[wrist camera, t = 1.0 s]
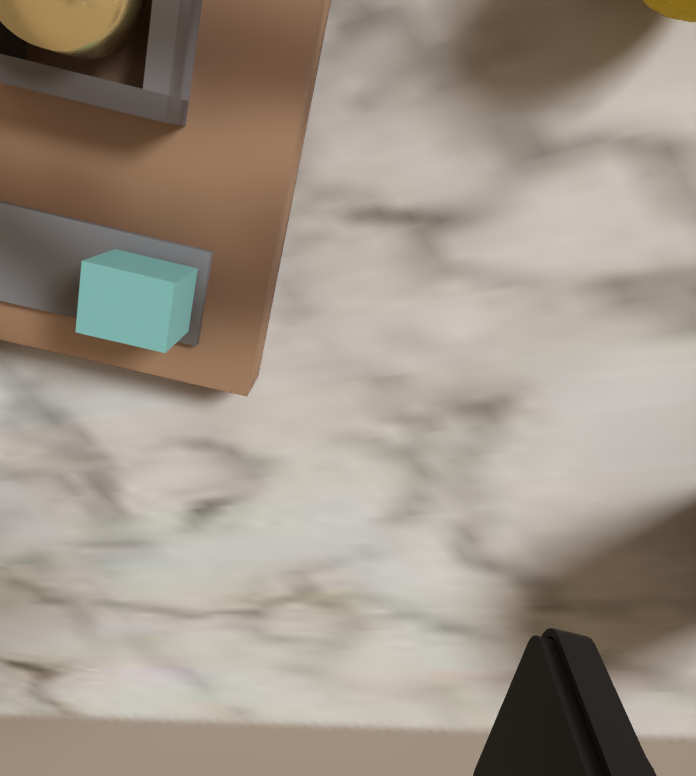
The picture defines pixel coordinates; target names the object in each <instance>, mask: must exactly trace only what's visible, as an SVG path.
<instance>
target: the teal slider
mask: <svg viewBox="0 0 696 776" xmlns="http://www.w3.org/2000/svg"><path fill="white" fill-rule="evenodd" d="M197 271H198V268H194V267H189V266H185V265H181V264H177V263H172V262H168V261H164V260H160V259H156V258H151V257H147V256H143V255H139V254H135V253H130V252H126V251H122V250H118V249H114V250H111V251H108V252H105V253H103V254H100V255H97V256H94V257H91V258H88V259H85V260H83V261H82V263H81V275H80V286H79V297H78V309H77V320H76V333H81V334H85V335H89V336H94V337H98V338H102V339H106V340H111V341H115V342H119V343H124V344H128V345H132V346H137V347H141V348H145V349H150V350H154V351H158V352H163V353H166V352H167V351H168V350H169V349H170V348H171V347H172V346H173V345H174V344H175V343H177V342H178V341H179V340H180V339H181V338H182V337H183V336H184V335H185V334H186V333H187V332H188V331H189V324H190V318H191V311H192V304H193V298H194V291H195V284H196V278H197Z"/></svg>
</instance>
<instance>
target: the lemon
mask: <svg viewBox="0 0 696 776" xmlns="http://www.w3.org/2000/svg"><path fill="white" fill-rule="evenodd" d="M642 1H643V2H644V3H645V4H646V5H647V6H648V7H649V8H651V9H653V10H655V11H657V12H658V13H660V14H662V15H664V16H666V17H669V18H673V19H678V20H683V21H688V22H696V0H642Z"/></svg>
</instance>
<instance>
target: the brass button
mask: <svg viewBox="0 0 696 776" xmlns="http://www.w3.org/2000/svg"><path fill="white" fill-rule="evenodd" d="M144 3H145V0H0V21H1V22H2V24H3V25H4V26H5V27H6V28H7V29H9V30H10V31H11V32H12V33H14V34H15V35H16V36H18V37H19V38H21V39H23V40H24V41H26V42H28V43H30V44H33V45H36V46H39V47H42V48H45V49H48V50H51V51H54V52H57V53H60V54H63V55H66V56H69V57H72V58H77V59H87V60H91V59H99V58H102V57H106V56H108V55H110V54H113V53H114V52H116V51H118V50H119V49H121V48H122V47H123V46H124V45H125V44H126V43H127V42H128V41H129V40H130V38H131V37H132V36H133V34H134V33H135V31H136V29H137V27H138V25H139V23H140V20H141V17H142V14H143V9H144Z"/></svg>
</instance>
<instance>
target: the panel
mask: <svg viewBox="0 0 696 776" xmlns="http://www.w3.org/2000/svg"><path fill="white" fill-rule="evenodd" d="M330 2H331V0H145V3H144V9H143V14H142V17H141V20H140V23H139V25H138V27H137V29H136V31H135V33H134V34H133V36H132V37H131V38H130V40H129V41H128V42H127V43H126V44H125V45H124V46H123V47H122V48H121V49H119V50H118V51H116V52H114V53H113V54H110V55H108V56H106V57H102V58H99V59H91V60H87V59H77V58H72V57H69V56H66V55H63V54H60V53H57V52H54V51H51V50H48V49H45V48H42V47H39V46H36V45H33V44H30V43H28V42H26V41H24V40H23V39H21V38H19V37H18V36H16V35H15V34H14V33H12V32H11V31H10V30H9V29H7V28H6V27H5V26H4V25H3V24H2V22H1V21H0V340H4V341H9V342H13V343H17V344H22V345H26V346H30V347H35V348H39V349H43V350H48V351H52V352H56V353H61V354H65V355H69V356H74V357H78V358H82V359H87V360H91V361H95V362H100V363H104V364H108V365H113V366H117V367H121V368H126V369H130V370H135V371H139V372H143V373H148V374H152V375H156V376H161V377H165V378H169V379H174V380H178V381H182V382H187V383H191V384H195V385H200V386H204V387H208V388H213V389H217V390H221V391H226V392H230V393H234V394H239V395H243V396H248V394H249V392H250V390H251V388H252V387H253V385H254V383H255V381H256V379H257V377H258V374H259V369H260V364H261V359H262V354H263V348H264V343H265V338H266V333H267V328H268V323H269V317H270V312H271V307H272V302H273V297H274V292H275V286H276V281H277V276H278V271H279V266H280V261H281V255H282V250H283V245H284V240H285V235H286V230H287V224H288V219H289V214H290V209H291V204H292V199H293V193H294V188H295V183H296V178H297V173H298V168H299V162H300V157H301V152H302V147H303V142H304V137H305V132H306V126H307V121H308V116H309V111H310V106H311V101H312V95H313V90H314V85H315V80H316V75H317V70H318V64H319V59H320V54H321V49H322V44H323V39H324V33H325V28H326V23H327V18H328V13H329V8H330ZM114 249H118V250H122V251H126V252H130V253H135V254H139V255H143V256H147V257H151V258H156V259H160V260H164V261H168V262H172V263H177V264H181V265H185V266H189V267H194V268H198V271H197V278H196V284H195V291H194V298H193V304H192V311H191V318H190V324H189V331H188V332H187V333H186V334H185V335H184V336H183V337H182V338H181V339H180V340H179V341H178V342H177V343H175V344H174V345H173V346H172V347H171V348H170V349H169V350H168V351H167V352H166V353H163V352H158V351H154V350H150V349H145V348H141V347H137V346H132V345H128V344H124V343H119V342H115V341H111V340H106V339H102V338H98V337H94V336H89V335H85V334H81V333H76V320H77V309H78V297H79V286H80V275H81V263H82V261H83V260H85V259H88V258H91V257H94V256H97V255H100V254H103V253H105V252H108V251H111V250H114Z"/></svg>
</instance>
